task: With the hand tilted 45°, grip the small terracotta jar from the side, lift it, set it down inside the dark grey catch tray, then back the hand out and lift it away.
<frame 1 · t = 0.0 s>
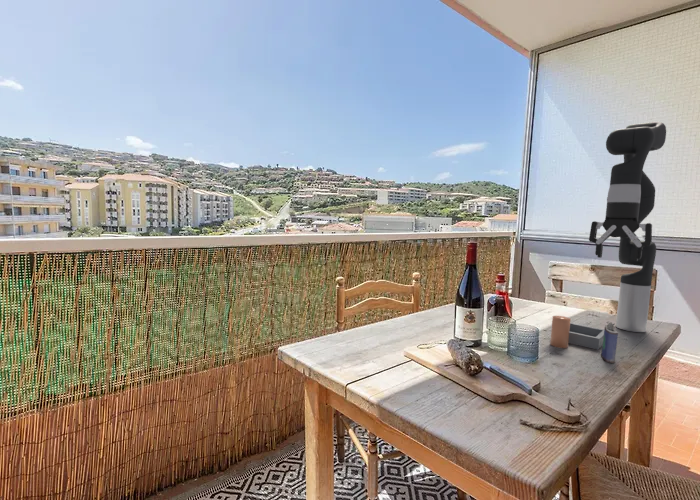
hand: (617, 259, 107), 29 cm above the table, tool pointing down, fingers open, 8 cm apart
catch tray: (579, 339, 127), on the table
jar: (558, 345, 121), on the table
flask: (607, 358, 111), on the table
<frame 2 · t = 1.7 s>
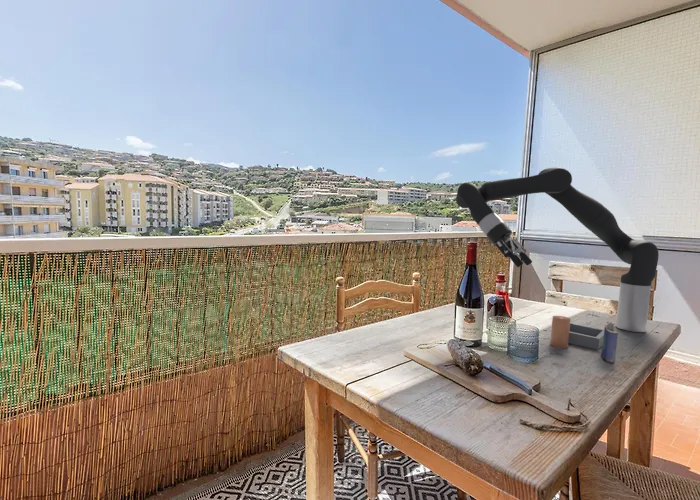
hand: (525, 264, 128), 24 cm above the table, tool tilted 45°, fingers open, 8 cm apart
nothing on the table moved.
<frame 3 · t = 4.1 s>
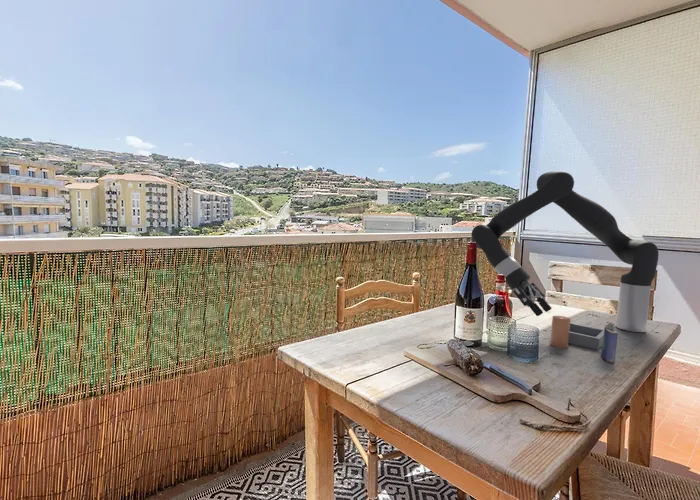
hand: (544, 312, 123), 10 cm above the table, tool tilted 45°, fingers open, 8 cm apart
nothing on the table moved.
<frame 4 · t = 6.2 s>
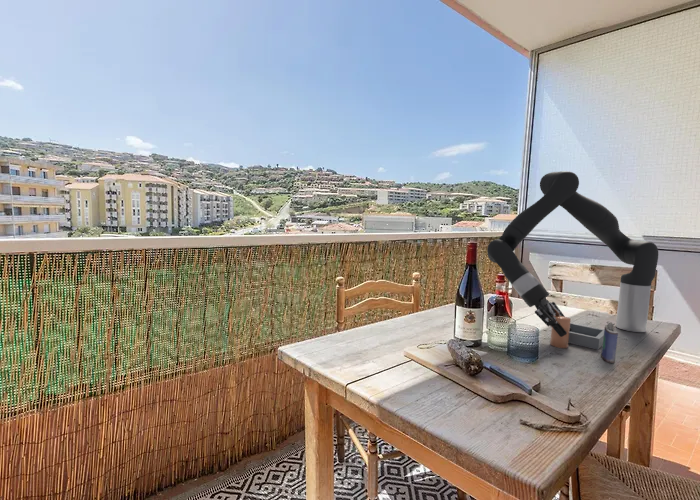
hand: (566, 333, 119), 4 cm above the table, tool tilted 45°, fingers closed on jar, 5 cm apart
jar: (558, 345, 121), on the table, touching gripper
everything else where it was.
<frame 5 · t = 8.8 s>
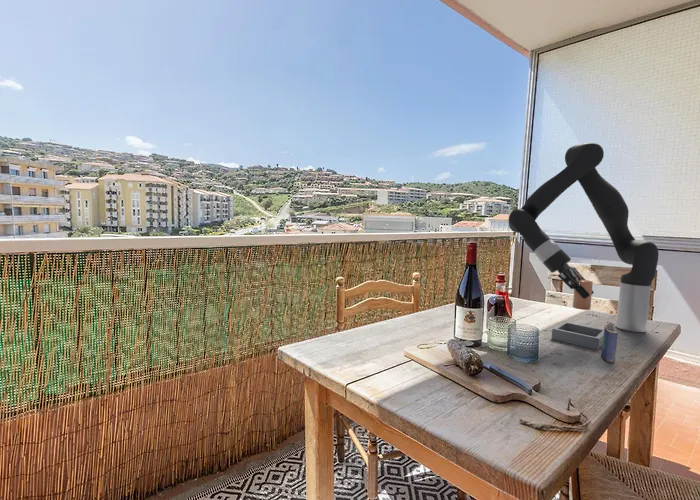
hand: (589, 295, 123), 16 cm above the table, tool tilted 45°, fingers closed on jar, 5 cm apart
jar: (581, 307, 125), point 11 cm above the table, touching gripper
everything else where it was.
when the fingers open (6 cm above the table, at t = 11.3 s): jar drops 1 cm, resting on catch tray.
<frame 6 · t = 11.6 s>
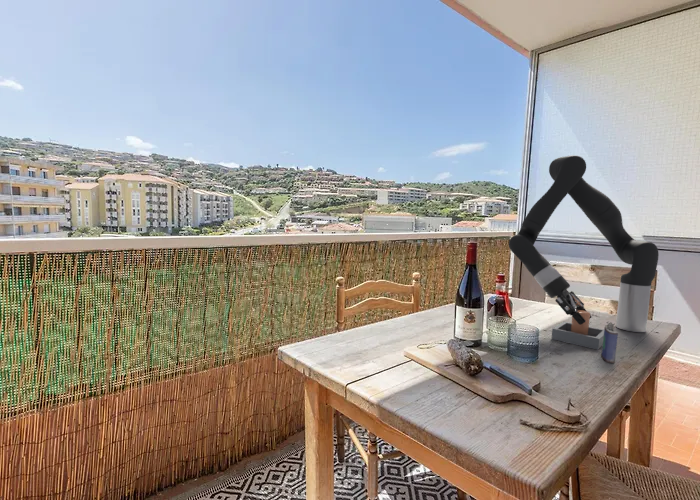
hand: (586, 321, 126), 7 cm above the table, tool tilted 45°, fingers open, 7 cm apart
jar: (578, 338, 127), point 1 cm above the table, touching catch tray
everything else where it was.
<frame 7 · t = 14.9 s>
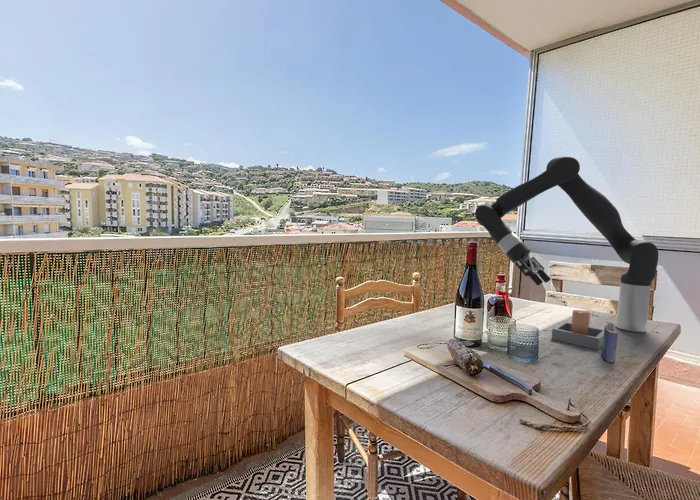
hand: (544, 282, 134), 18 cm above the table, tool tilted 45°, fingers open, 8 cm apart
nothing on the table moved.
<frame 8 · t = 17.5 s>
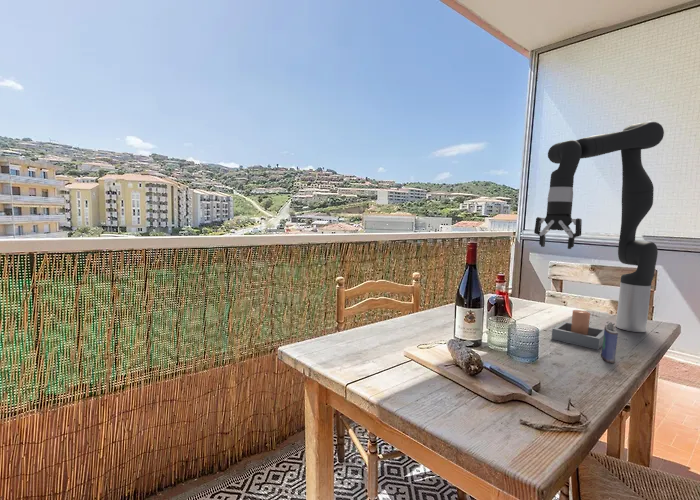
hand: (555, 247, 132), 30 cm above the table, tool pointing down, fingers open, 8 cm apart
nothing on the table moved.
at the end: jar inside the target area on the catch tray (0.2 cm from its centre), point 0.5 cm above the catch tray's base; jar tilted 0°; the gripper is holding nothing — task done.
